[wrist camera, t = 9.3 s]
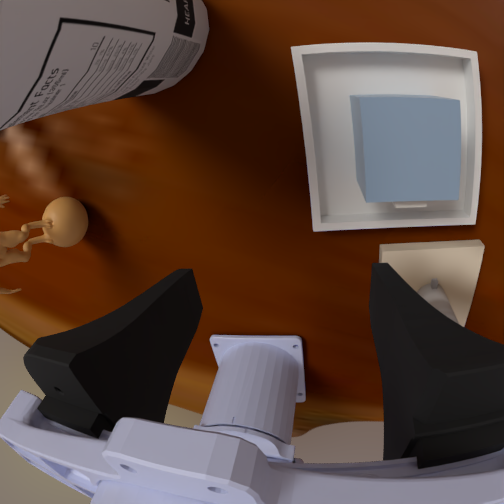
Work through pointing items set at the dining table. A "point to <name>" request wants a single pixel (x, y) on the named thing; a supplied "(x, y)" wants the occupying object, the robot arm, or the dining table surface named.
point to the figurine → (45, 231)
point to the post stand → (439, 272)
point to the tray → (341, 128)
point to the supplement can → (93, 52)
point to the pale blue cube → (407, 148)
